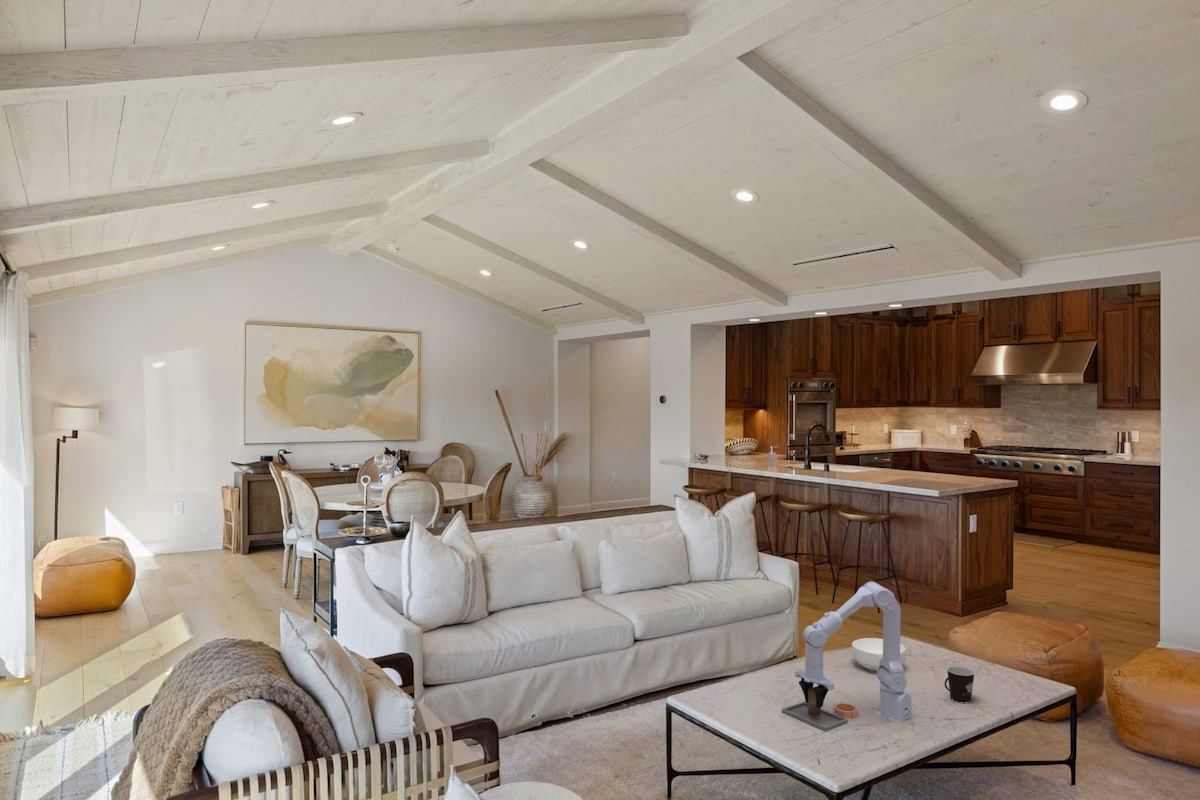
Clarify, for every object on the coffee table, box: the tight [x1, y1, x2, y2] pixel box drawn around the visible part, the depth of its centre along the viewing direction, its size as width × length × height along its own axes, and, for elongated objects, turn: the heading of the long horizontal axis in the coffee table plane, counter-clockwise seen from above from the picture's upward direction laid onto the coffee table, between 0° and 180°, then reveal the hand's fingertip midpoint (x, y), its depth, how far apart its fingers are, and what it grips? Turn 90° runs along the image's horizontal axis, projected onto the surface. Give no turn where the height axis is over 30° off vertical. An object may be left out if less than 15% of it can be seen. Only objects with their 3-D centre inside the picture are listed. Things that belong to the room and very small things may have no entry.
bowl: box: [851, 637, 907, 672], centre depth 303 cm, size 20×20×8 cm
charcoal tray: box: [781, 701, 849, 733], centre depth 256 cm, size 18×11×2 cm, turn 35°
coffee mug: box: [944, 666, 975, 703], centre depth 271 cm, size 12×9×10 cm
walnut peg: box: [808, 686, 822, 716], centre depth 256 cm, size 4×4×8 cm
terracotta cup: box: [832, 702, 860, 720], centre depth 259 cm, size 8×8×2 cm
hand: (814, 704), depth 256 cm, fingers closed on walnut peg, 4 cm apart
